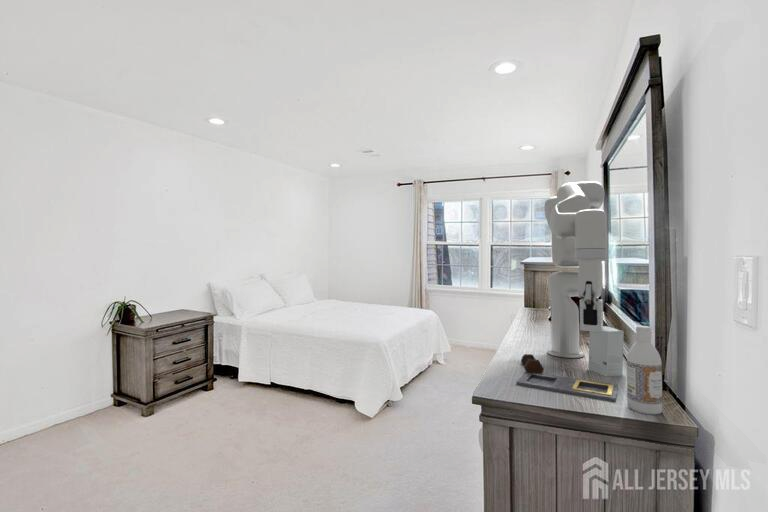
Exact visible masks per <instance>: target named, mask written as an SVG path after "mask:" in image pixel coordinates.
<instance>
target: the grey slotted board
mask: <svg viewBox="0 0 768 512" xmlns="http://www.w3.org/2000/svg"><path fill="white" fill-rule="evenodd" d="M515 382H516V386H521V387H527V388H533V389H537V390H538V389H539V390H543V391H550V392H555V393H561V394H562V393H563V394H568V395H573V396H580V397H585V398H591V399H592V398H593V399H596V400H603V401H608V402H614V403H616V401H617V397H618V391H619V385H618V384H614V383H613V384H612V383H606V382H601V381H600V382H599V381H594V380H587V379H580V378H573V377H567V376H562V375H561V376H560V375H554V374H546V373H542V374H541V373H534V372H528V371H527V372H526V371H525V373H524V374H523V375H522V376H521V377H519V379H517V380H516V381H515Z"/></svg>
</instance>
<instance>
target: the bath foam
mask: <svg viewBox="0 0 768 512" xmlns="http://www.w3.org/2000/svg"><path fill="white" fill-rule="evenodd" d="M635 331H636V332H635V335H636V336H635V337H636V341H635V342H634V343H633V345H632V346H631V347H630V348H629V351H628V353H627V357H626V375H627V376H626V382H627V384H626V385H627V386H626V388H627V389H626V390H627V391H626V392H627V407H628V408H629V409H630V410H632V411H634V412H637V413H639V414H645V415H651V416H652V415H655V416H656V415H660V414H661V413H662V412H663V369H662V368H663V364H662V359H661V356H660V352H659V351H658V350H657V348H656V347H655V345H654V344H653V343H652V327H651V326H647V325H637V326H636V327H635Z"/></svg>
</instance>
